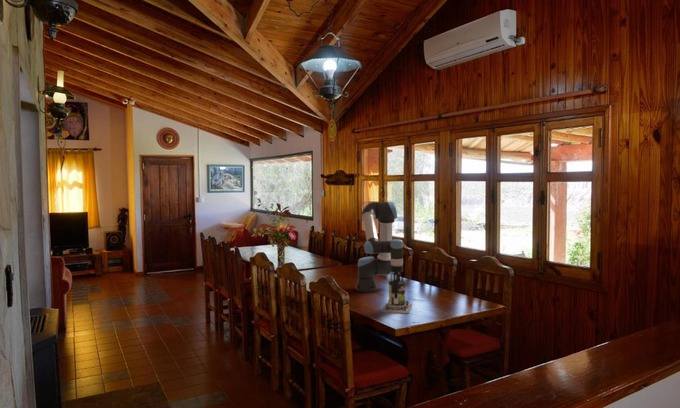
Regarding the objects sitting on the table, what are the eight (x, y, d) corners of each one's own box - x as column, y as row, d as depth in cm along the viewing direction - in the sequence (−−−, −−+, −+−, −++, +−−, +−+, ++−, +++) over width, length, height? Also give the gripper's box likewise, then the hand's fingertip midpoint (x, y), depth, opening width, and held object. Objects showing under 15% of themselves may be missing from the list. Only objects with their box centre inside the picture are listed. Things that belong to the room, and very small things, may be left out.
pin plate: (386, 305, 314) (386, 299, 313) (411, 306, 310) (411, 300, 310) (382, 312, 298) (382, 305, 298) (409, 313, 294) (409, 306, 294)
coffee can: (409, 305, 303) (409, 282, 302) (396, 308, 297) (396, 284, 296) (397, 301, 311) (397, 279, 310) (385, 304, 305) (385, 281, 304)
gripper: (393, 261, 314) (393, 296, 316) (388, 268, 292) (388, 305, 294) (404, 261, 313) (405, 296, 314) (400, 268, 291) (401, 306, 292)
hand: (397, 301), depth 304 cm, fingers open, 10 cm apart
